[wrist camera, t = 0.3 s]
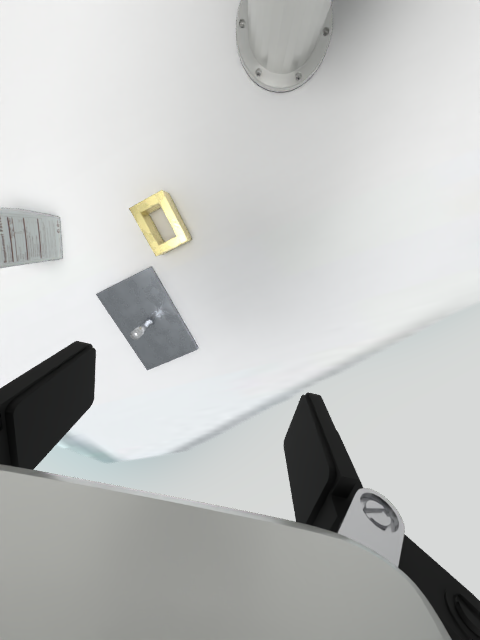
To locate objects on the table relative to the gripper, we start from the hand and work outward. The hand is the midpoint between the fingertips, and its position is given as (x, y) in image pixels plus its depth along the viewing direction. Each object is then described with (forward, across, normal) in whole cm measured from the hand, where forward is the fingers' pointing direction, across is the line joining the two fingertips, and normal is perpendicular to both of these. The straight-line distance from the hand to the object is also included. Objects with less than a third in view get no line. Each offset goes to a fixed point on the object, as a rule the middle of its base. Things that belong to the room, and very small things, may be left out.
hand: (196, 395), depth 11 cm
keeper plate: (+36, +14, +13) cm, 41 cm away
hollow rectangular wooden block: (+35, +14, -5) cm, 38 cm away
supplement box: (+36, +35, +2) cm, 50 cm away
